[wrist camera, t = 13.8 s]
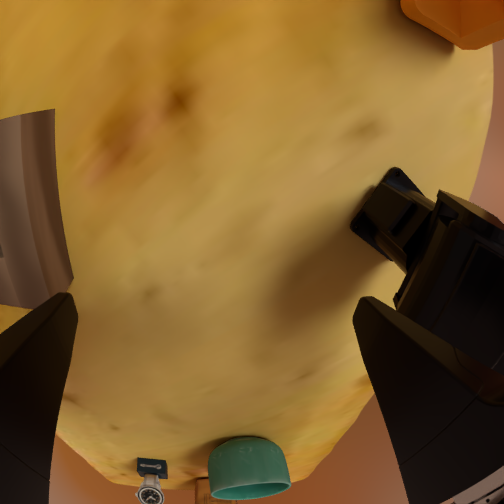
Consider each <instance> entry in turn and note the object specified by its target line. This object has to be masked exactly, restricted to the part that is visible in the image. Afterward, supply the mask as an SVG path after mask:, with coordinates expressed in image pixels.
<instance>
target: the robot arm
mask: <svg viewBox="0 0 504 504" xmlns="http://www.w3.org/2000/svg"><path fill="white" fill-rule="evenodd" d="M396 172H397V175H396V176H395V173H396ZM356 225H358V227H357V228H355V226H356ZM350 229H351V230H352V231H353V232H354V233H355V234H357V235H358V236H359V237H361V238H362V239H363V240H365V241H366V242H367V243H368V244H370V245H371V246H372V247H374V248H375V249H376V250H377V251H379V252H380V253H381V254H383V255H384V256H385V257H386V258H388V259H389V260H390V261H392V262H393V261H394V262H395V263H396V264H397V265H398V267H399V268H400V269H401V270H402V271H403V272H404V273H405V274H406V276H405V278H404V280H403V282H402V284H401V286H400V288H399V290H398V292H397V293H396V294H395V296H394V298H393V302H394V305H395V308H396V310H394V309H393V308H391V307H389V306H388V305H386V304H384V303H383V302H381V301H380V300H378V299H376V298H375V297H372V296H367V297H361V298H360V300H359V302H358V304H357V307H356V310H355V312H354V315H353V326H354V329H355V333H356V336H357V340H358V344H359V347H360V351H361V355H362V358H363V362H364V364H365V367H366V370H367V373H368V375H369V378H370V381H371V383H372V386H373V389H374V392H375V395H376V397H377V400H378V403H379V406H380V409H381V412H382V414H383V418H384V421H385V423H386V426H387V430H388V432H389V436H390V439H391V442H392V445H393V448H394V451H395V455H396V458H397V461H398V465H399V469H400V472H401V476H402V479H403V483H404V486H405V490H406V494H407V498H408V501H409V504H440V503H442V502H444V501H446V500H448V499H450V498H452V497H453V499H454V502H453V503H451V504H504V224H503V223H502V222H501V221H500V220H499V219H498V218H497V217H496V216H494V215H493V214H491V213H489V212H488V211H486V210H484V209H482V208H481V207H479V206H477V205H475V204H474V203H471V202H469V201H467V200H464V199H462V198H459V197H457V196H455V195H452V194H450V193H447V192H445V191H442V190H439V191H438V194H437V201H436V203H434V202H433V201H431V200H430V199H428V198H426V197H425V196H424V195H423V194H422V192H421V191H420V190H419V189H418V188H417V187H416V185H415V184H414V183H413V182H412V181H411V180H410V179H409V178H408V176H407V175H406V174H405V173H404V172H403V171H402V170H401V169H400V168H398V167H393V168H392V169H391V170H390V172H389V173H388V175H387V176H386V177H385V179H384V180H383V181H382V183H381V184H380V185H379V186H378V187H377V189H376V190H375V192H374V193H373V194H372V196H371V197H370V198H369V199H368V201H367V202H366V203H365V205H364V206H363V208H362V209H361V211H360V212H359V213H358V215H357V216H356V217H355V218H354V220H353V221H352V222H351V224H350ZM77 324H78V313H77V310H76V306H75V303H74V300H73V297H72V295H71V294H70V293H67V292H58V293H57V294H55V295H54V296H52V297H51V298H49V299H48V300H47V301H45V302H44V303H42V304H41V305H39V306H38V307H37V308H35V309H34V310H32V311H31V312H29V313H28V314H27V315H25V316H24V317H23V318H21V319H20V320H18V321H17V322H16V323H14V324H13V325H12V326H10V327H9V328H8V329H6V330H5V331H4V332H2V333H1V334H0V504H49V483H50V481H49V479H50V469H51V461H52V453H53V445H54V438H55V432H56V426H57V420H58V415H59V410H60V405H61V400H62V396H63V391H64V387H65V383H66V379H67V375H68V371H69V367H70V362H71V357H72V351H73V345H74V339H75V334H76V329H77Z"/></svg>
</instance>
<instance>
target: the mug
mask: <svg viewBox="0 0 504 504" xmlns="http://www.w3.org/2000/svg"><path fill="white" fill-rule="evenodd" d="M208 475H209V485H210V492H211V496H213V497H215V498H218V499H225V500H242V499H243V500H244V499H255V498H261V497H266V496H271V495H274V494H278V493H281V492H283V491H285V490H287V489H289V488H290V487H291V481H290V476H289V471H288V467H287V463H286V459H285V456H284V454H283V452H282V450H281V448H280V447H279V446H278V445H276V444H275V443H273V442H271V441H269V440H265V439H261V438H257V437H240V438H235V439H231V440H228V441H227V442H225V443H224V444H222V445H220V446H218V447H217V448H215V449H214V450H213V451H212V453H211V454H210V456H209V460H208Z"/></svg>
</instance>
